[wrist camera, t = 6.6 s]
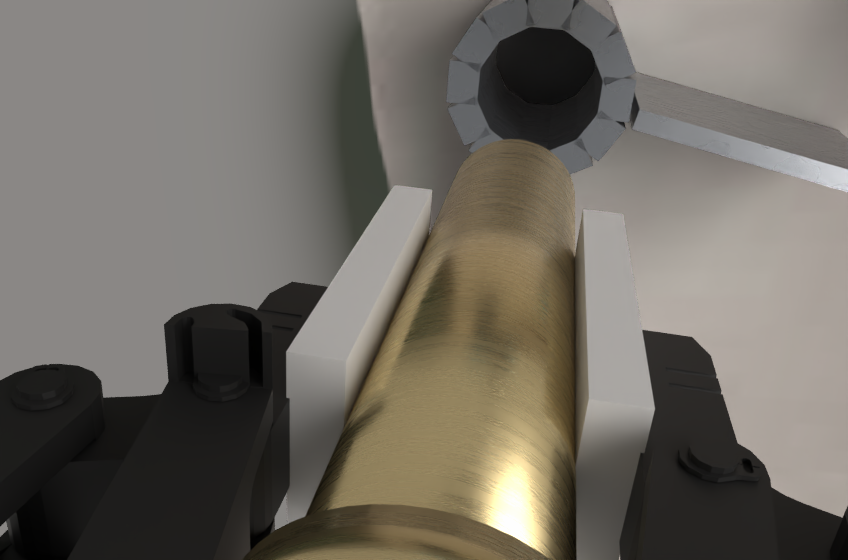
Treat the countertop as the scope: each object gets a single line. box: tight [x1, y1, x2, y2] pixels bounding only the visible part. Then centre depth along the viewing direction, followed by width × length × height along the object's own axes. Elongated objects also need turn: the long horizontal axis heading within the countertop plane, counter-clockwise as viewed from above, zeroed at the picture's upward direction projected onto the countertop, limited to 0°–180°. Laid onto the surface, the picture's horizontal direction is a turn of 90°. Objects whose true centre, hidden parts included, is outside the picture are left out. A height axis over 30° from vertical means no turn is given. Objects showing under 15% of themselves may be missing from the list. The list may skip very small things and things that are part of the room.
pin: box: [242, 139, 577, 560], centre depth 13 cm, size 4×4×14 cm
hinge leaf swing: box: [629, 72, 848, 192], centre depth 33 cm, size 10×1×8 cm, turn 76°
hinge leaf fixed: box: [446, 0, 637, 174], centre depth 36 cm, size 17×7×8 cm, turn 176°
